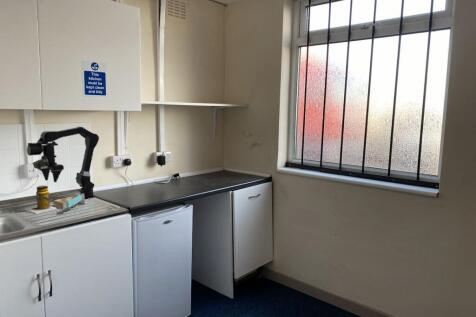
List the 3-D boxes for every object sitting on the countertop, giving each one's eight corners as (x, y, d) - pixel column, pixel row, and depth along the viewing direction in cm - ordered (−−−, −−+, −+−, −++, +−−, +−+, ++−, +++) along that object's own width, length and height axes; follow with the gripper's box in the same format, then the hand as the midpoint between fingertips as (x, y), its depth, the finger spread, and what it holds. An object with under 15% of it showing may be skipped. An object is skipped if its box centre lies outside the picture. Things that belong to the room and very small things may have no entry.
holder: (73, 201, 212) (73, 191, 211) (85, 204, 205) (84, 193, 205) (53, 205, 202) (52, 195, 201) (65, 209, 196) (64, 198, 195)
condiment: (52, 208, 195) (51, 186, 193) (35, 211, 189) (33, 188, 187) (48, 205, 200) (46, 184, 198) (31, 208, 194) (29, 186, 193)
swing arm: (80, 199, 203) (80, 194, 203) (82, 199, 203) (82, 194, 203) (66, 207, 187) (65, 202, 187) (68, 207, 187) (68, 202, 187)
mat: (46, 205, 202) (46, 204, 202) (56, 209, 196) (56, 207, 196) (25, 210, 193) (25, 209, 193) (36, 213, 187) (35, 212, 187)
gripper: (25, 154, 201) (27, 181, 203) (43, 156, 191) (45, 185, 193) (45, 152, 210) (47, 178, 212) (63, 154, 200) (65, 182, 202)
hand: (50, 181), depth 205 cm, fingers open, 9 cm apart
